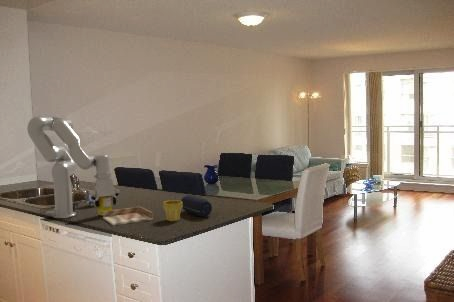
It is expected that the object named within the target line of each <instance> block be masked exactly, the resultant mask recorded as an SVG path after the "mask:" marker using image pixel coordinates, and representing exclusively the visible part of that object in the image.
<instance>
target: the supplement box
mask: <svg viewBox="0 0 454 302" xmlns="http://www.w3.org/2000/svg"><path fill="white" fill-rule="evenodd" d="M98 202H99V208H97V216H98V217H101V218H103V211H109V210H113V206H112V205H113V200H112V196H105V197H99V198H98Z"/></svg>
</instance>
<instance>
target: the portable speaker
mask: <svg viewBox="0 0 454 302" xmlns="http://www.w3.org/2000/svg"><path fill="white" fill-rule="evenodd" d="M180 201H182V203H183V207H182V210H184V211H185V212H186V213H187V212H188V213H190V214H192V215H195V216H198V217H201V218H206V217H208V216H209V215H210V214H211V213H212V209H213V207H212V206H213V205H212V203H211V201H210V200H208V199H207V198H204V197H200V196H197V195H193V194H187V195H186V194H185V195H184V196H183V197H182V198H181V200H180Z"/></svg>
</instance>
